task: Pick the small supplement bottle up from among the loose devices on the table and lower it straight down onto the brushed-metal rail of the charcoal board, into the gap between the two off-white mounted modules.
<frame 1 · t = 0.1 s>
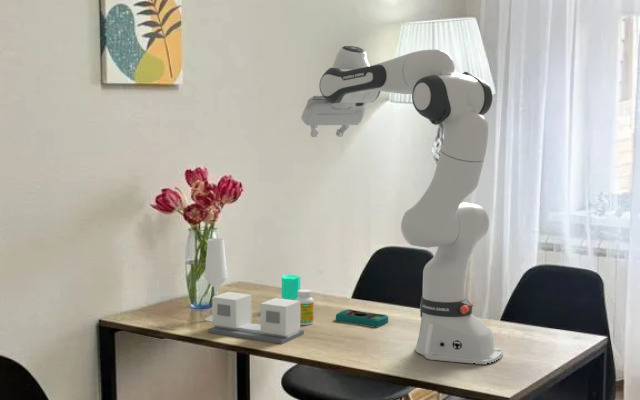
hand: (326, 135, 277), 54 cm above the table, tool tilted 30°, fingers open, 8 cm apart
digital multimeter: (361, 323, 267), on the table
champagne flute: (216, 319, 269), on the table
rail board: (256, 333, 253), on the table
candle: (290, 310, 282), on the table
supplement bottle: (304, 323, 265), on the table
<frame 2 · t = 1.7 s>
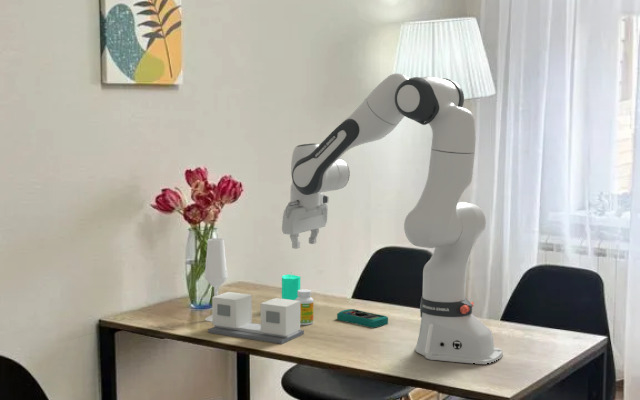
hand: (304, 245, 264), 23 cm above the table, tool pointing down, fingers open, 8 cm apart
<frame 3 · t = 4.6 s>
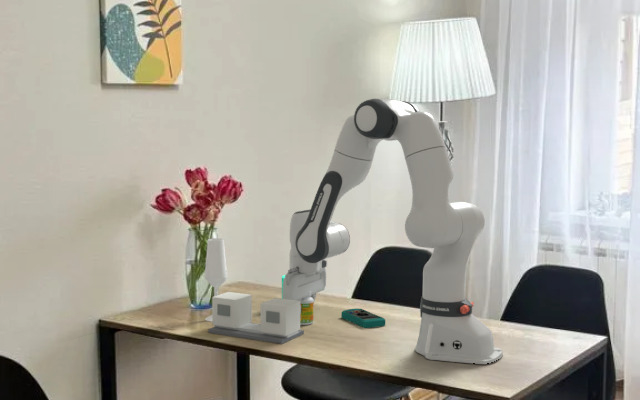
hand: (304, 311, 264), 4 cm above the table, tool pointing down, fingers closed on supplement bottle, 5 cm apart
supplement bottle: (304, 323, 265), on the table, touching gripper
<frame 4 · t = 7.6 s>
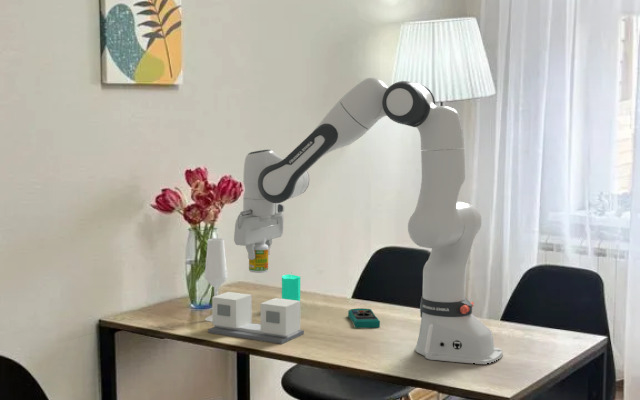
hand: (258, 257, 251), 21 cm above the table, tool pointing down, fingers closed on supplement bottle, 5 cm apart
supplement bottle: (258, 272, 252), point 17 cm above the table, touching gripper
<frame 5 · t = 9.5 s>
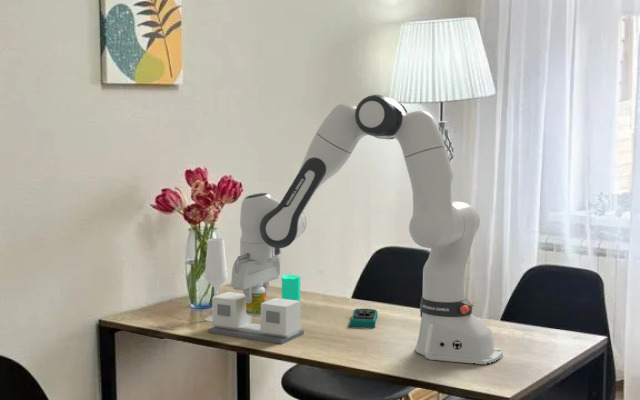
hand: (256, 300, 252), 9 cm above the table, tool pointing down, fingers closed on supplement bottle, 5 cm apart
supplement bottle: (255, 314, 252), point 5 cm above the table, touching gripper
when the fingers open (6 cm above the table, at t = 11.0 s): supplement bottle stays where it is, resting on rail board.
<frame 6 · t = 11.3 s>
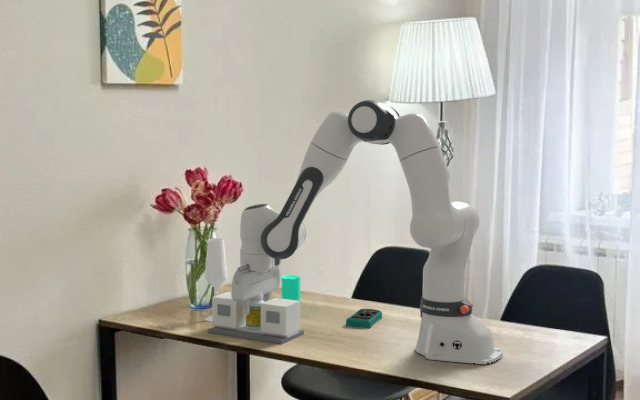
hand: (256, 311, 252), 6 cm above the table, tool pointing down, fingers open, 8 cm apart
supplement bottle: (255, 327, 252), point 2 cm above the table, touching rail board
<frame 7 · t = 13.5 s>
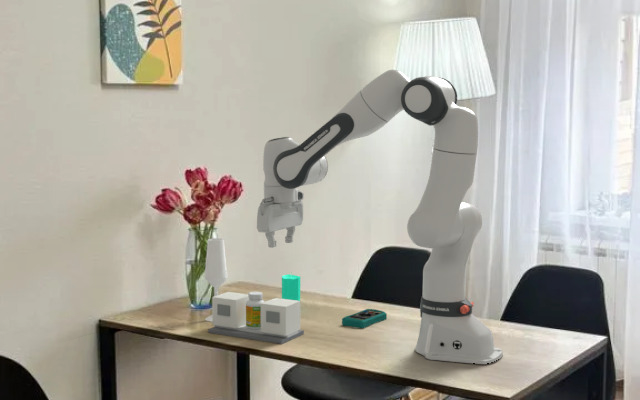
hand: (280, 244, 252), 25 cm above the table, tool pointing down, fingers open, 8 cm apart
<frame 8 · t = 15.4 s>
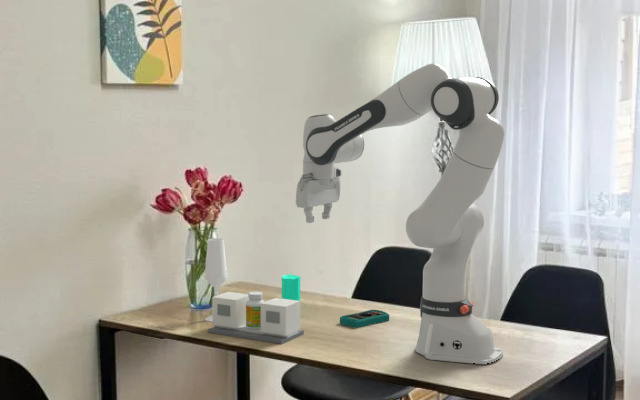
hand: (318, 220, 256), 31 cm above the table, tool pointing down, fingers open, 8 cm apart
at the end: supplement bottle 0.3 cm off-centre on the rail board, point 1.6 cm above the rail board's base; supplement bottle tilted 0°; the gripper is holding nothing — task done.
